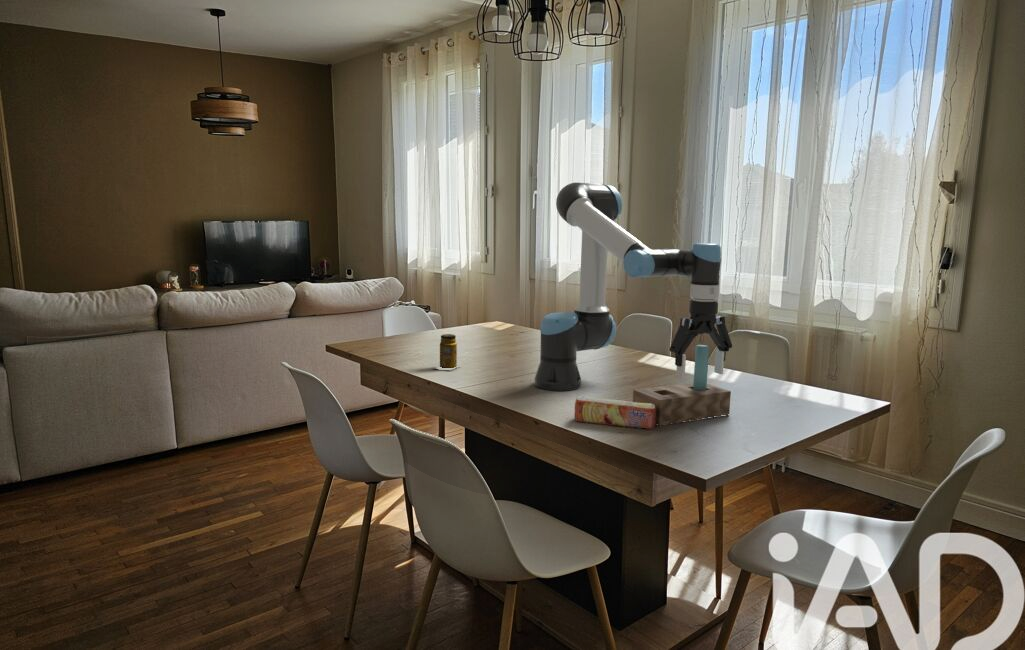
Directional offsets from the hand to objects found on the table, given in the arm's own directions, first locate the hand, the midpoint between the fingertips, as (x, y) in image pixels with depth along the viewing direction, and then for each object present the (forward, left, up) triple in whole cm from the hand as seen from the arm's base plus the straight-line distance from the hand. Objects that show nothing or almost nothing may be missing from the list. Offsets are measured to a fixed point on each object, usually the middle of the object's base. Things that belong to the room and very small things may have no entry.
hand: (699, 375), depth 190 cm
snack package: (-28, +1, -11) cm, 30 cm away
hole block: (-6, 0, -11) cm, 12 cm away
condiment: (-45, +80, -11) cm, 93 cm away
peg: (0, 0, -10) cm, 10 cm away
